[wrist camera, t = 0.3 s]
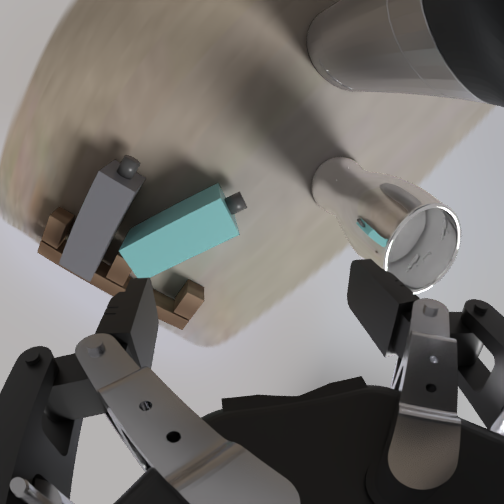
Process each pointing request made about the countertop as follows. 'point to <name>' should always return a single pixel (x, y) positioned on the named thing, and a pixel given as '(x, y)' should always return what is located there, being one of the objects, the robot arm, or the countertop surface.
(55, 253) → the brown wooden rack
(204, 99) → the countertop surface
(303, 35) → the countertop surface
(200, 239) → the teal plug
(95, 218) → the charcoal plug
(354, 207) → the beer glass
